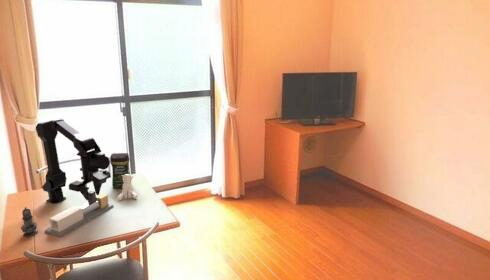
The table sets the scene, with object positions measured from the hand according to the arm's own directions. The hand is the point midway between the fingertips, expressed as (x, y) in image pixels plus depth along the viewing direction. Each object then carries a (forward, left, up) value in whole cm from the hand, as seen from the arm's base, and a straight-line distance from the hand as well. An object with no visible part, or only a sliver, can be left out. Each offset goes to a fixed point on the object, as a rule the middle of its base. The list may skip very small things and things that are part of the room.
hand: (92, 197), depth 159 cm
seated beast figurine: (+3, +19, -7) cm, 20 cm away
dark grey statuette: (-9, -25, -7) cm, 27 cm away
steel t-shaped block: (0, -3, -5) cm, 6 cm away
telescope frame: (0, -6, -7) cm, 9 cm away
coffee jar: (-9, +28, -7) cm, 30 cm away
